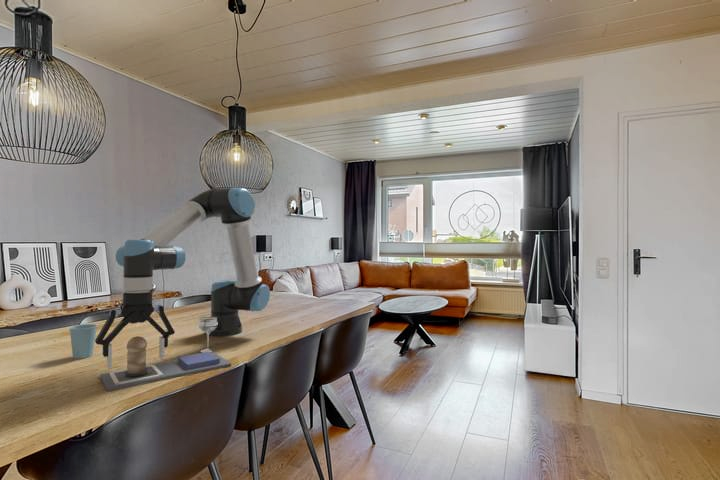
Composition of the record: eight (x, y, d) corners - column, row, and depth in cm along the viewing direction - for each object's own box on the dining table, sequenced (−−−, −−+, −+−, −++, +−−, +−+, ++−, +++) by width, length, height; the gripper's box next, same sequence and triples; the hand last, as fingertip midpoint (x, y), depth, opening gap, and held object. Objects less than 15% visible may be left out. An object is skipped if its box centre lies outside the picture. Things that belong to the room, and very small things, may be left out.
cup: (83, 352, 135) (84, 323, 135) (101, 354, 134) (102, 324, 134) (63, 358, 128) (64, 328, 128) (82, 360, 127) (83, 329, 127)
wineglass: (194, 350, 140) (195, 318, 140) (212, 347, 145) (212, 315, 145) (202, 354, 135) (203, 321, 135) (220, 350, 140) (221, 318, 140)
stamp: (144, 370, 116) (145, 333, 116) (149, 374, 112) (149, 336, 112) (123, 373, 112) (124, 336, 112) (127, 379, 108) (128, 339, 108)
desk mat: (215, 355, 134) (215, 348, 134) (231, 365, 124) (231, 358, 124) (100, 376, 112) (100, 368, 112) (107, 390, 101) (107, 381, 101)
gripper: (179, 287, 123) (177, 352, 123) (84, 292, 107) (83, 368, 106) (186, 289, 117) (184, 358, 117) (87, 295, 101) (85, 375, 101)
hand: (136, 362), depth 112 cm, fingers open, 13 cm apart
